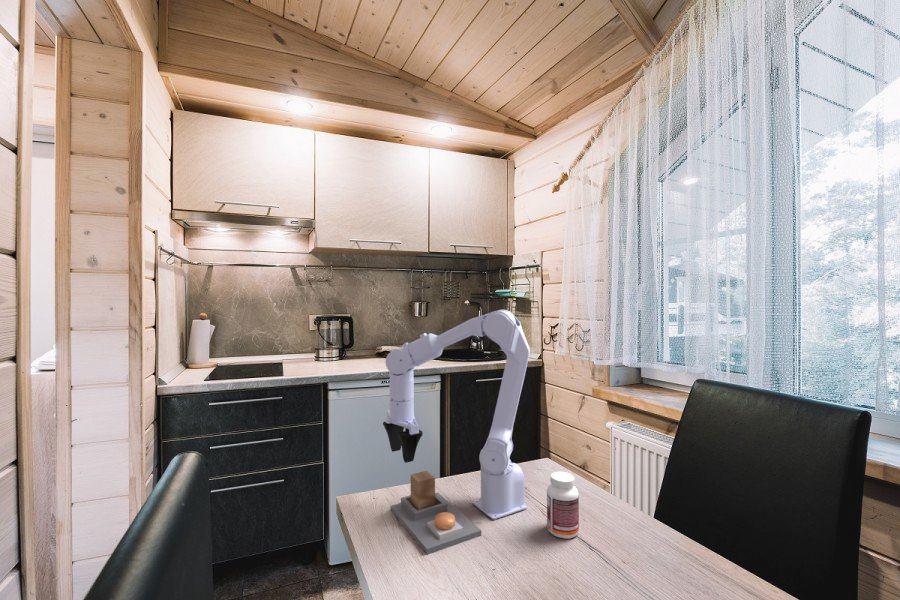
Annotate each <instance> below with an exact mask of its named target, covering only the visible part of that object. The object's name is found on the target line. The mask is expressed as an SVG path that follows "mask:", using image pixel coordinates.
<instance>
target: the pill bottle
mask: <svg viewBox="0 0 900 600" xmlns="http://www.w3.org/2000/svg"><path fill="white" fill-rule="evenodd" d="M575 479H576V478H575V476H574V475H573V474H572V473H569V472H565V471H554V472H552V473H551V474H550V479H549V480H550V484H549V485H548V486H547V488H546V518H547V519H546V527H547V531H548V532H549V533H550V534H551V535H552V536H555V537H557V538H559V539H565V540H568V539H573V538H575V537H577V536H578V534H579V533H580V523H579V521H580V519H579V517H580V514H579V511H580V510H579V508H580V507H579V506H580V505H579V504H580V503H579V502H580V501H579V495H580V494H579V491H578V489H577V487H576V486H575V483H576V482H575Z"/></svg>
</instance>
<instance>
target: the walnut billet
mask: <svg viewBox="0 0 900 600" xmlns="http://www.w3.org/2000/svg"><path fill="white" fill-rule="evenodd" d="M435 493H436V477H435V476H434V475H433V474H432V473H430V472H429V471H428V470H425V471H420V472H417V473H412V474H410V495H411V505H412V506H413V507H414V508H415V509H416V510H417V511H418V510H421V509H425V508H428V507H432V506H435Z"/></svg>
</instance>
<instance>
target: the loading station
mask: <svg viewBox="0 0 900 600" xmlns="http://www.w3.org/2000/svg"><path fill="white" fill-rule="evenodd" d="M389 508H390V512H391V513H392V514H393V515H394V516H395V517H396V519H397V520H398V521H399V522H400V524H401V525H402V526H403V527H404V528H405V530H406V531H407V532H408V533H409V535H410V536H411V537H412V538H413V539H414V540H415V542H416V543H417V544H418V545H419V547H420V548H421V550H423V551H424V553H425V554H426V555H430V554H432V553H436V552H438V551H441V550H443V549H446V548H449V547H452V546H455V545H459V544H462V543H463V542H466V541H469V540H472V539H474V538H477V537H480V536H482V529H481V528H480V527H478V526H477V525H476V524H475V523H474V522H473V521H472V520H471V519H469V518H468V517H467V516H466V515H464V514H463V512H461V511H460V510H459V509H458V508H457V507H456V506H454V505H453V504H452V503H451V502H450V501H448V499H446V498H445V497H444V496H443V495H442V494H441V493H439V492H435V506H432V507H428V508H425V509H421V510H418V511H417V510H416V509H415V508H414V507H413V506H412V505H411V494H410V495H407V496H404V497H403V496H402V497H400V502H398V503H396V504H393V505H392V504H391V505H390V507H389ZM442 512H448V513H452V514H453V515H454V516H455V525H454V526H453V527H452V528H450V529H440V528H438V527H436V526H435V516H436V515H437V514H439V513H442Z"/></svg>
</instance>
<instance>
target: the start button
mask: <svg viewBox="0 0 900 600" xmlns="http://www.w3.org/2000/svg"><path fill="white" fill-rule="evenodd" d="M454 525H455V516H454V515H453V514H452V513H448V512H442V513H439V514H437V515H436V516H435V526H436V527H438V528H440V529H450V528H452V527H453V526H454Z"/></svg>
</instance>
